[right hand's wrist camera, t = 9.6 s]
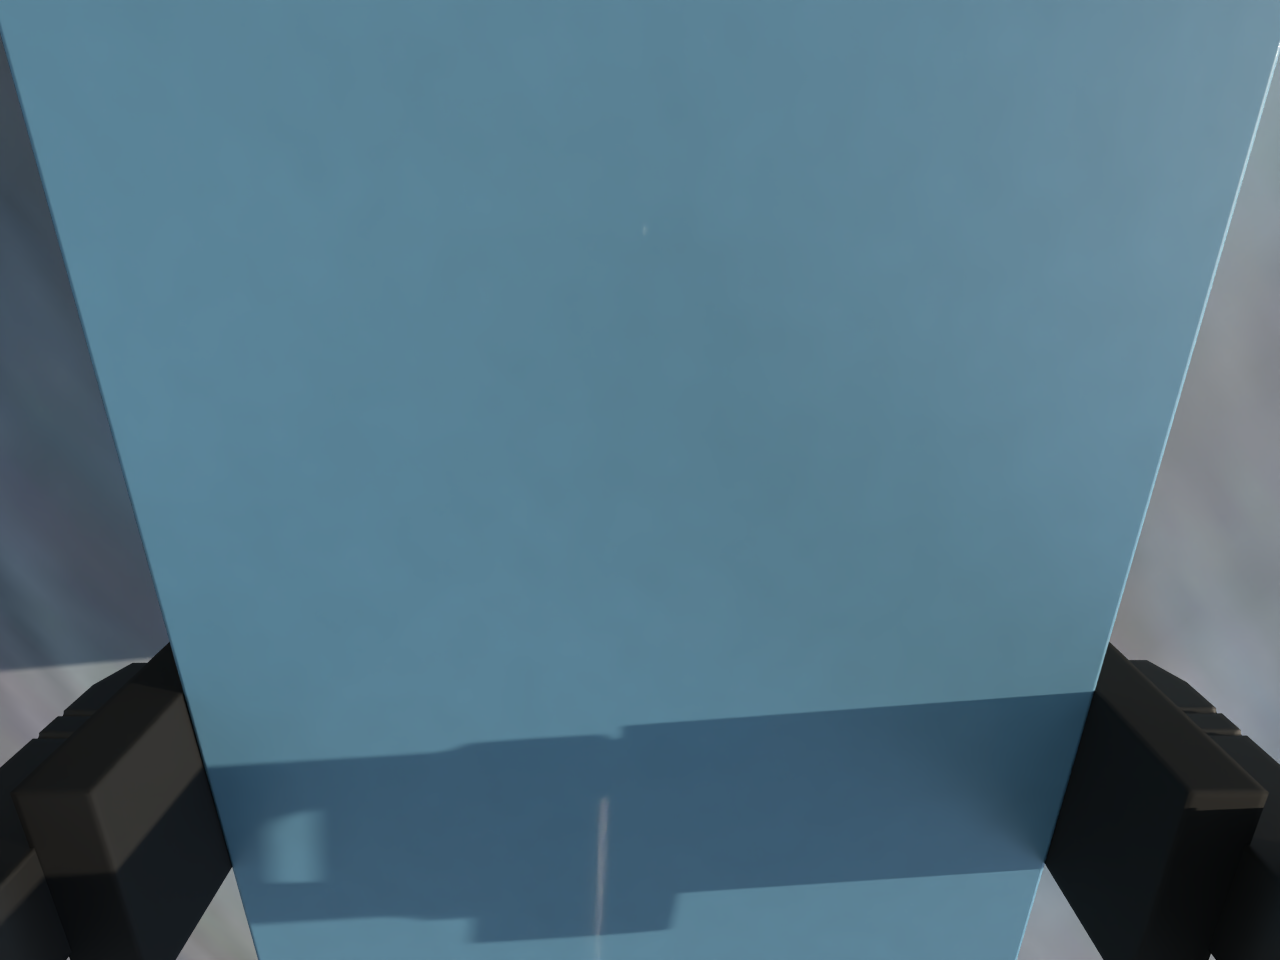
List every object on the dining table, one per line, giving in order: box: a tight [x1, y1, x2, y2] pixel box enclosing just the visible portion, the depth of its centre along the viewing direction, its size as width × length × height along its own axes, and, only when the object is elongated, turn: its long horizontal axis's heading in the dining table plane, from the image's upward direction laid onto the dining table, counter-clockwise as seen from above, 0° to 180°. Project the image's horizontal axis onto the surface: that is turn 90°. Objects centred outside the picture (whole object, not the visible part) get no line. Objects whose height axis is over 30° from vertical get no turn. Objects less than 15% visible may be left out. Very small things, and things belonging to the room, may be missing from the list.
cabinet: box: [0, 0, 1280, 960], centre depth 11 cm, size 21×10×10 cm, turn 0°
